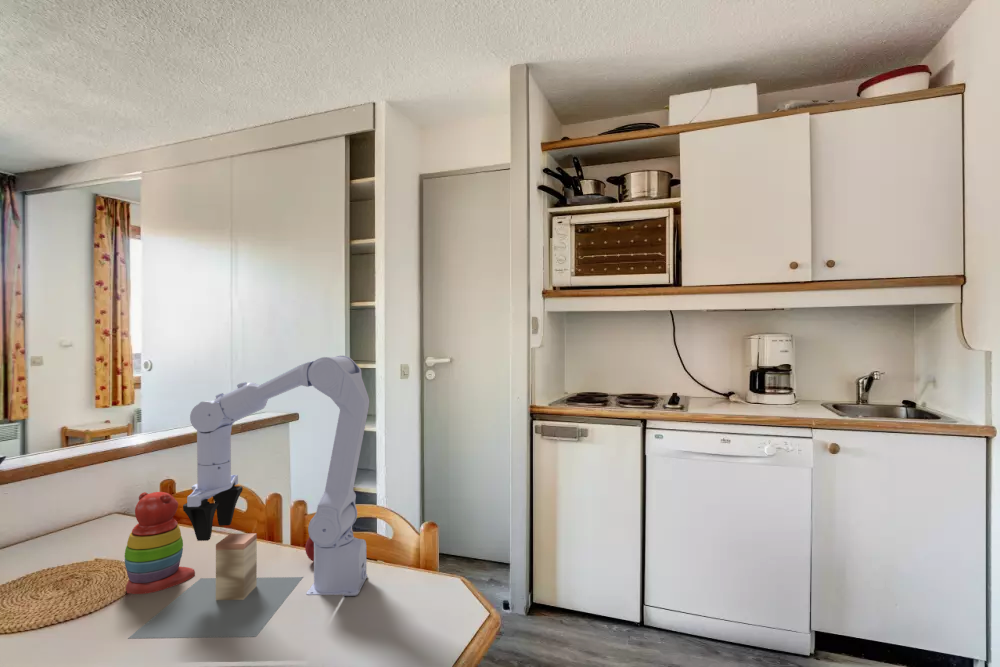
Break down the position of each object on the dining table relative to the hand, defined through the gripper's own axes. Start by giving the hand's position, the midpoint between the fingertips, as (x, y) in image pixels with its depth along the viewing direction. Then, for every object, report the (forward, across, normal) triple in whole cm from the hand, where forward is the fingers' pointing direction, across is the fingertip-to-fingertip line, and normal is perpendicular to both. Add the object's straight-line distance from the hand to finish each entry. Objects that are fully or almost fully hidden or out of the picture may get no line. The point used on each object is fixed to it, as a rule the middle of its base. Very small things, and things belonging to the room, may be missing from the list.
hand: (214, 532), depth 98 cm
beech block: (+10, +5, +6) cm, 12 cm away
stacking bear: (+10, 0, -12) cm, 15 cm away
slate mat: (+10, +9, +6) cm, 15 cm away
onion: (+10, -8, +18) cm, 22 cm away
